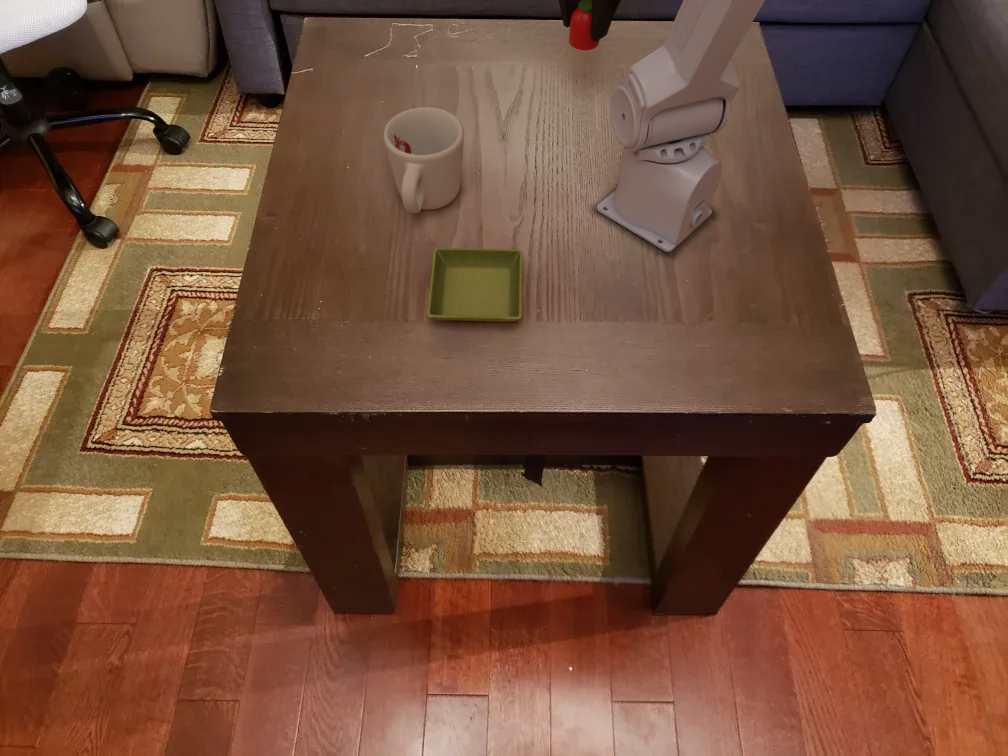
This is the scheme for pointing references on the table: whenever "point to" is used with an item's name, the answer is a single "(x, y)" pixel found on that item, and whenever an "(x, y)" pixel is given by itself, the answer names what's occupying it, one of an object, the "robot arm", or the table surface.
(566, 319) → the table surface
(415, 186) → the cup
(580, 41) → the strawberry
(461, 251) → the green square tray
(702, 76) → the robot arm
